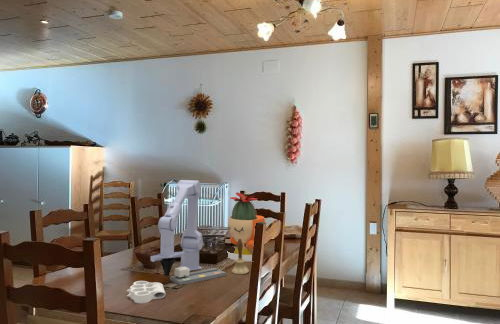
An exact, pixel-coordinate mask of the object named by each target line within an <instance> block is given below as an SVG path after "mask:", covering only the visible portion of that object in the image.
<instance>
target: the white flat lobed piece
mask: <svg viewBox="0 0 500 324" xmlns="http://www.w3.org/2000/svg"><path fill="white" fill-rule="evenodd" d="M125 291H126V292H128V294H127V295H126V296H127V297H129V299H130V300H133V303H135V304H146V303H149V302H150V301H151V300H159V299H163V298H164V297H166V291H165V288H164V284H162V283H161V282H157V281H155V282H151V281H150V282H149V281H146V280H137V281H135V282H133V283H132V285H131V286H129V288H128V289H127V290H125Z"/></svg>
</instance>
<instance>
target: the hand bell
mask: <svg viewBox="0 0 500 324" xmlns="http://www.w3.org/2000/svg"><path fill="white" fill-rule="evenodd" d="M236 247H237V248H238V252H239V255H238V259H237V260H235V264H234V267H233V268H232V270H231V273H232V274H235V275H245V274H248V273H249V272H250V270H249V268H248V267H247V265H246V261H245V260H243V259H242V248H243V244H242V241H241V239H238V243H237V245H236Z"/></svg>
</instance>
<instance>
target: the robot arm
mask: <svg viewBox="0 0 500 324" xmlns="http://www.w3.org/2000/svg"><path fill="white" fill-rule="evenodd" d="M176 187H177V193H176V195H175V199H174V200H173V202H171V203H170V204H169V205H168V207H167V210H166V211H165V213H164V216H161V217H160V218H159V220H158V224H157V227H158V230H159V234H160V253H158V254H156V255H150V262H152V263H153V262H156V261H159V263H160V265H161V267H162V270H163V274H164V276H166V277H170V275H171V270H172V267H173V265H174V264H175V262H176V261H175V259H176V258H180V265H179V266H178V268H179V267H184V266H185V267H187V268H189V269H190V272H191V271H196V270H203V267H201V266H200V251H201V250H202V248H203V245H204V240H203V234H202V233H201V232H200V231H198V209H199V208H198V207H199V203H198V201H199V197H201V193H202V190H201V189H202V185H201V182H200V181H199V180H197V179H196V180H193V179H191V180H190V179H180V180H179V181H178V182H177V186H176ZM186 198H187V210H186V212H187V214H186V230H185V232H182V235H181V240H180V247H181V249H182V251H175V230H176V228H177V226H178V221H179V220H178V218H179V216H180V214H181V212H182V204H183V203H184V201H185V200H186Z"/></svg>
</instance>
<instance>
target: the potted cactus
mask: <svg viewBox="0 0 500 324" xmlns="http://www.w3.org/2000/svg"><path fill="white" fill-rule="evenodd" d="M235 195H236V196H237V197H235V196H234V197H233V196H232V197H229V198H230V199H231V200H233V201H234V202H235V203H234V205H233V207H232V209H231V212H230V214H231V215H230V216H229V217H228V223H227V226H228V231H229V233H230V238H229V241H230V243H231V244H233V245H235V246H233V247H234V248H235V251H234V253H230V252H228V251H227V253H228V257H227V258H228V259H229V258H230V259H229V260H232V259H233V260H232V261H236V260H237V259H238V255H239V252H238V248H237V243H238V239H241V241H242V244H243V248H242V259H243V260H245V263H246V262H248V263H249V262H253V261H252V251H253V244H254V235H255V225H256V223H258V222H264V223H265V224H266V220H265V216H262V215H258V213H257V210H256V209H257V208H256V207H255V205H254V203H253V201H257V200H258V198H254V197H255V195H254V194H253V195H250V196H246V195H245V194H243V193H241V192H235Z"/></svg>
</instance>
